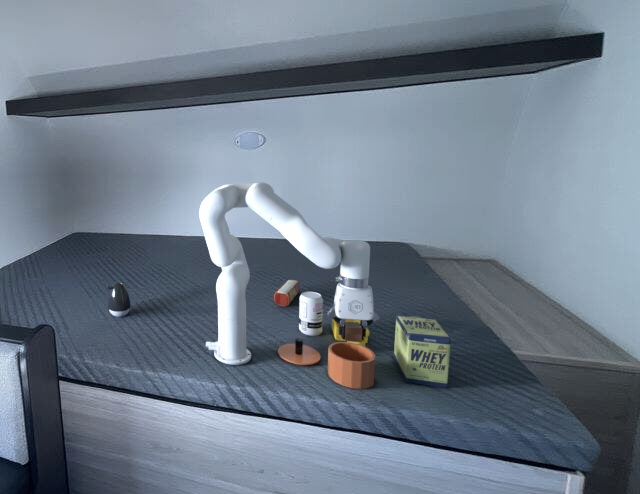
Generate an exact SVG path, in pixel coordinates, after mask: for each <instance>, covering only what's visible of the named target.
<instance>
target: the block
mask: <svg viewBox="0 0 640 494" xmlns="http://www.w3.org/2000/svg"><path fill="white" fill-rule="evenodd" d="M344 326H345V341H344V342H347V341H351V342H362V327H361V326H360V324H359V323H358V322H345V324H344Z"/></svg>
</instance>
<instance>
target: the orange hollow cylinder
mask: <svg viewBox="0 0 640 494" xmlns="http://www.w3.org/2000/svg"><path fill="white" fill-rule="evenodd" d="M376 359H377V357H376V353H375V352H374V351H373V350H372V349H370V348H369V347H367V346H365V347H364V346H362V345H359V344H355V343H351V342H347V341H336V342H335V341H334V342H333V343H331V344H329V346H328V349H327V375H328V377H329V378H330V379H331V380H332V381H333V382H335V383H336V384H338V385H341V386H343V387H346V388H349V389H354V390H355V389H356V390H365V389H369V388H371V387H373V386H374V384H375V379H376V378H375V375H376Z"/></svg>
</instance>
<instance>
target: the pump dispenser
mask: <svg viewBox="0 0 640 494" xmlns="http://www.w3.org/2000/svg"><path fill="white" fill-rule="evenodd" d="M106 288H107V289H108V290H110V291H109V294H108V299H107V309H108V310H109V314H111V315H112V316H114V317H116V318H117V317H118V318H121V317H125V316H126V315H128V313H129V312H130V310H131V305H132V304H131V299H130V295H129V292H128V290H127V288H126V285H125V284H124V283H122V282H121V281H116V282H114V283H113V284H112V285H107V286H106Z"/></svg>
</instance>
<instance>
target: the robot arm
mask: <svg viewBox="0 0 640 494" xmlns="http://www.w3.org/2000/svg"><path fill="white" fill-rule="evenodd" d="M237 208H238V209H240V208H250V210H252V211H253V212H254V213H255V214H257V215H258V216H259V217H260V218H262V220H265V221H266V222H267V223H268V224H269V225H271V226H272V227H273V229H274V228H275V229H276V230H277V231H278V232H279V233H280V234H281V235H282V236H283V238H285V239H286V240H287V241H288V242H289V243H290V244H291V245H292V246H293V247H294V248H295V249H296V250H297V251H298V252H299V253H301V254H302V255H303V256H304V257H305V258H307V259H308V260H309V261H310V262H312V263H313V264H314V265H316V266H317V267H319V268H322V269H325V270H330V269H334V268H337V267H338V266H339V265H340V270H339V275H338V276H335V277H334V282H338V283H337V285H336V289H335V293H334V300H333V306H332V307H330V309H328V311H327V312H326V315H327V316H328V317H329V318H330V319H331V320H332V319H334V320H335V321H336V322H337V323H338V324H339V335H341V337H342V339H345V326H344V324H345V320H346V319H351V320H360V322H361V323H360V326H361V327H362V341H364V337H366V328H367V329H369V326H371V325H372V324H373V323H374V322H377V321H378V320H380V318H381V317H380V316H379V315H378V314H377V312H376V310H375V307H374V306H375V303H374V293H373V288H372V286H370V284H369V282H370V265H371V264H370V263H371V262H370V260H371V246H370V244H369V243H368V242H367V241H365V240H359V239H342V238H341V239H340V238H335V237H328V236H324V237H322V236H321V235H320V234H319V233H318V232H316V230H314V229H313V227H311V226H310V224H309V223H307V221H306V219H305V218H304V217H303V215H302V213H301V212H300V211H299V210H297V209H296V208H295V207H293V206H292V205H291V204H289V203H288V202H287V201H285V200H284V199H283V198H281V196H279V195H277V194H276V193H275V190H274V188H273V187H272V186H271V185H270V184H268V183H267V182H263V181H261V182H249V183H230V184H229V183H228V184H224V185H220V187H216V188H214V189H213V190H212V191H211V192H210V193H208V195H206V196H205V197H204V199H203V200H202V201H201V203H200V206H199V209H198V210H199V211H198V216H199V221H200V224H201V228H202V231H203V235H204V239H205V242H206V243H205V244H206V246H207V249H208V253H209V256H210V260H211V262H212V263H213V264H214V265H216V266H217V267H218V268H221V272H220V274H219V275H218V278H217V280H216V284H215V292H216V299H217V300H216V301H217V325H218V326H217V327H218V328H217V329H218V331H217V332H218V339H217V341H214V342H213V341H205V348H208V351H213V353H214V354H213V355H214V357H215V358H216V360H218V362H220V363H223V364H225V365H230V366H241V365H246V364H248V363H249V362H250V361H251V359H252V353H251V351H250V350H249V349H248V348H247V300H246V298H247V297H246V290H247V287H248V284H249V282H250V278H251V273H250V268H249V265H248V262H247V259H246V254H245V251H244V248H243V245H242V243H241V241H240V240H239V238H238V237H237V236H235V235H233V234H231V232H230V228H229V225H228V222H227V220H226V214H227V213H228V212H230V211H231V210H232V209H237Z"/></svg>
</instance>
